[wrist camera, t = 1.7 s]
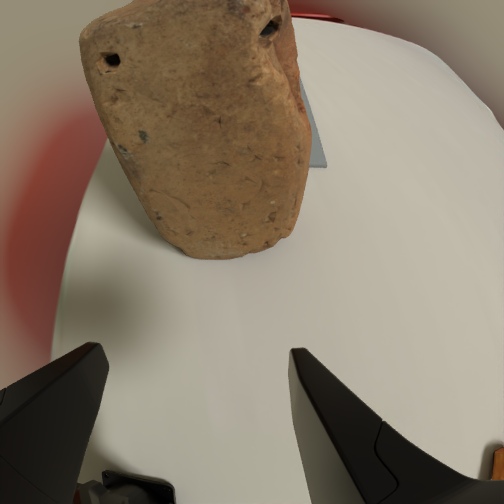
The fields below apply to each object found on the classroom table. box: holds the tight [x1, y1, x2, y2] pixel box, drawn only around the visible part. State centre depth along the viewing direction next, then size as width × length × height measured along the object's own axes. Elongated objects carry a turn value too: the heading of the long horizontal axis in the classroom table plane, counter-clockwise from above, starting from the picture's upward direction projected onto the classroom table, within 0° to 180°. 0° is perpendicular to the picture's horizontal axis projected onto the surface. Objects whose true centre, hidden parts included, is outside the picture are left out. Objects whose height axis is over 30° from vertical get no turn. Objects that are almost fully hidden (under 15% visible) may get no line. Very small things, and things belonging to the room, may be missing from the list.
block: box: [79, 0, 312, 260], centre depth 16 cm, size 11×8×20 cm
